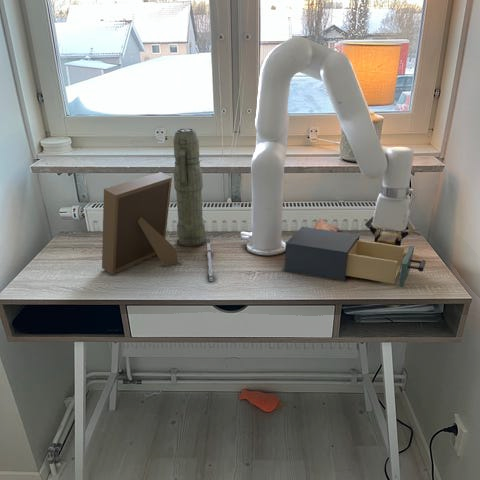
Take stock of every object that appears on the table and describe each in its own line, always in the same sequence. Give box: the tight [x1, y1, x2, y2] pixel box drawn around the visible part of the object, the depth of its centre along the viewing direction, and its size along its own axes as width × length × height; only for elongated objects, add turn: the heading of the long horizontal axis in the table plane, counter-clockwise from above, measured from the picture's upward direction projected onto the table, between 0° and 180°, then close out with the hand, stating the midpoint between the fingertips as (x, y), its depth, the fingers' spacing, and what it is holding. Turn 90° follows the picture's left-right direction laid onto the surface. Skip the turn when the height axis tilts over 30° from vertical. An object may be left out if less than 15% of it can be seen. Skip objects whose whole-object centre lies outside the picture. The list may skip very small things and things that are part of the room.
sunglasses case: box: [314, 218, 340, 232], centre depth 172 cm, size 18×7×7 cm, turn 170°
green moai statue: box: [172, 128, 206, 247], centre depth 163 cm, size 9×12×35 cm
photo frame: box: [101, 171, 179, 275], centre depth 149 cm, size 15×22×25 cm
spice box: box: [377, 231, 397, 245], centre depth 160 cm, size 5×8×6 cm, turn 156°
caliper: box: [206, 235, 214, 282], centre depth 152 cm, size 20×1×6 cm, turn 5°
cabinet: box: [284, 226, 360, 282], centre depth 151 cm, size 18×15×9 cm
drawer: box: [345, 239, 427, 288], centre depth 145 cm, size 21×13×7 cm, turn 66°
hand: (386, 249), depth 161 cm, fingers closed on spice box, 5 cm apart
